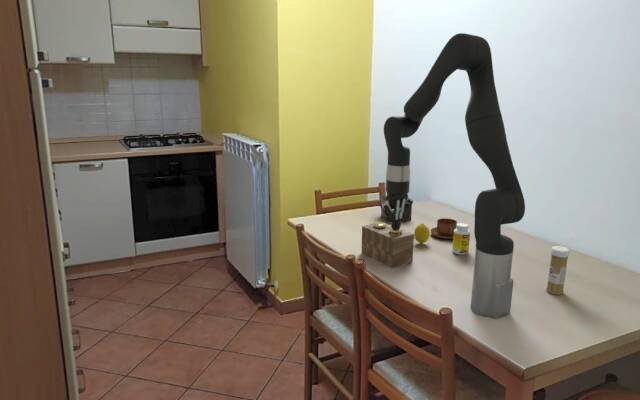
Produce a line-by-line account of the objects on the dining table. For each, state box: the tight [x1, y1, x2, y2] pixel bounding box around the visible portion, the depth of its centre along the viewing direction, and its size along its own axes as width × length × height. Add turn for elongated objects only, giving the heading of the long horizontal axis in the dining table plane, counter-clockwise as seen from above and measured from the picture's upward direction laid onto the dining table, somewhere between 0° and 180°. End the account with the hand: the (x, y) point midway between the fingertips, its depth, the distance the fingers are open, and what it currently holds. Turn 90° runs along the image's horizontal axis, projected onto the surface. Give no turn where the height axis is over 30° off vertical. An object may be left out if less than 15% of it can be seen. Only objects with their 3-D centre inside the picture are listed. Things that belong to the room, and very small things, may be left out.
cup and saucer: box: [430, 217, 458, 240], centre depth 190 cm, size 12×12×6 cm
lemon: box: [413, 222, 431, 245], centre depth 181 cm, size 6×6×8 cm
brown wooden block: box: [361, 221, 415, 269], centre depth 167 cm, size 16×9×10 cm, turn 35°
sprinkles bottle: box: [546, 245, 570, 295], centre depth 141 cm, size 5×5×13 cm
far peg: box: [373, 222, 387, 229], centre depth 170 cm, size 4×4×10 cm
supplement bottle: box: [452, 222, 471, 256], centre depth 172 cm, size 6×6×10 cm
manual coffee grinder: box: [380, 195, 413, 223], centre depth 214 cm, size 16×11×18 cm
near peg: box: [390, 227, 403, 235], centre depth 164 cm, size 4×4×10 cm
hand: (395, 229), depth 162 cm, fingers closed
